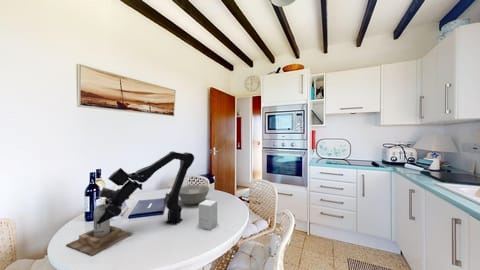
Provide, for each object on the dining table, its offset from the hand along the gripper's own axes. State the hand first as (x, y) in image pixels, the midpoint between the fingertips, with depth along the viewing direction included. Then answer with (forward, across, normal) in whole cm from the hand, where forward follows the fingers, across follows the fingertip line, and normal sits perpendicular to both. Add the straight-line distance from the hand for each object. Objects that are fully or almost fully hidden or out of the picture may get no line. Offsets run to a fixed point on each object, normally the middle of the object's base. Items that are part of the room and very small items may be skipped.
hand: (97, 219), depth 88 cm
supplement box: (-27, +15, +41) cm, 51 cm away
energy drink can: (+6, 0, +8) cm, 9 cm away
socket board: (+6, 0, +8) cm, 10 cm away
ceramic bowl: (-31, -22, +45) cm, 59 cm away
